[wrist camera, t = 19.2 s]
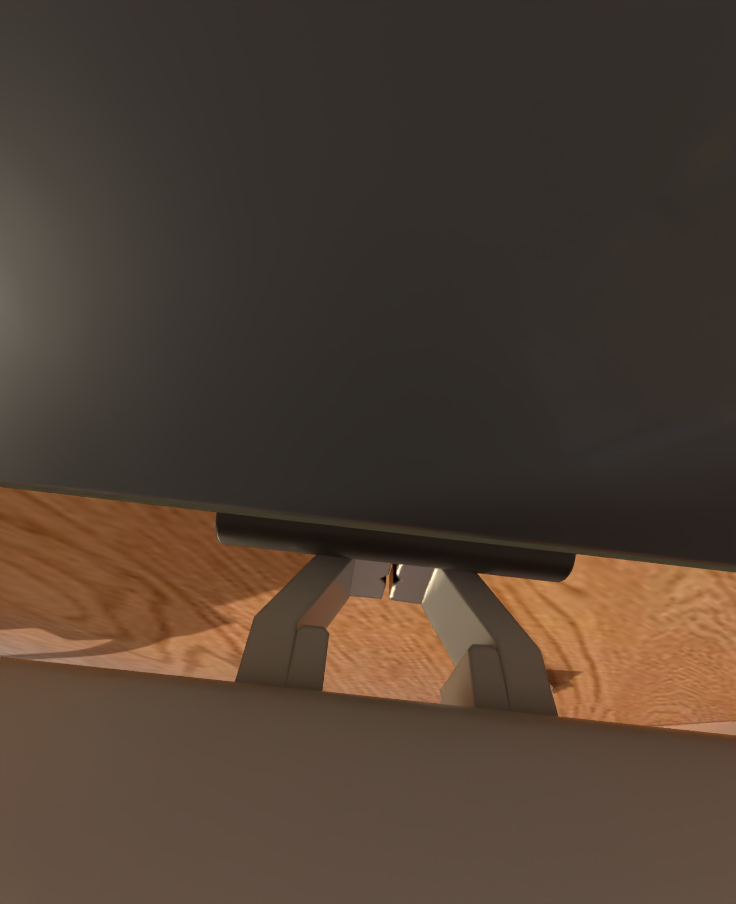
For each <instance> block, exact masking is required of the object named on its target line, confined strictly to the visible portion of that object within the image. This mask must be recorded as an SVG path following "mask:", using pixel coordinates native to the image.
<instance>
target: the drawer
mask: <svg viewBox="0 0 736 904" xmlns="http://www.w3.org/2000/svg"><path fill="white" fill-rule="evenodd" d="M0 487H6V488H14V489H23V490H31V491H40V492H49V493H57V494H66V495H74V496H83V497H92V498H100V499H109V500H117V501H126V502H135V503H143V504H152V505H160V506H169V507H178V508H186V509H195V510H203V511H212V512H217V514H216V534H217V538H218V541H219V542H220V543H222V544H227V545H236V546H244V547H253V548H262V549H271V550H279V551H288V552H297V553H306V554H314V555H323V556H332V557H341V558H349V559H358V560H367V561H376V562H385V563H393V564H402V565H411V566H420V567H428V568H437V569H446V570H455V571H463V572H472V573H481V574H490V575H498V576H507V577H516V578H525V579H533V580H542V581H551V582H561V581H563V580H565V579H566V578H567V577H568V576H569V575H570V573H571V571H572V569H573V566H574V562H575V556H576V554H581V555H590V556H599V557H607V558H616V559H624V560H633V561H642V562H650V563H659V564H667V565H676V566H685V567H693V568H702V569H710V570H719V571H727V572H736V567H727V566H719V565H710V564H702V563H693V562H684V561H676V560H667V559H659V558H650V557H642V556H633V555H624V554H616V553H607V552H599V551H590V550H582V549H573V548H565V547H556V546H547V545H539V544H530V543H522V542H513V541H505V540H496V539H487V538H479V537H470V536H462V535H453V534H445V533H436V532H427V531H419V530H410V529H402V528H393V527H385V526H376V525H367V524H359V523H350V522H342V521H333V520H325V519H316V518H308V517H299V516H290V515H282V514H273V513H265V512H256V511H248V510H239V509H230V508H222V507H213V506H205V505H196V504H188V503H179V502H170V501H162V500H153V499H145V498H136V497H128V496H119V495H110V494H102V493H93V492H85V491H76V490H68V489H59V488H51V487H42V486H33V485H25V484H16V483H8V482H0Z"/></svg>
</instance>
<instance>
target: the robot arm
mask: <svg viewBox="0 0 736 904" xmlns="http://www.w3.org/2000/svg"><path fill="white" fill-rule="evenodd" d="M391 564H392V568H391V572H390V575H389V600H395V601H402V602H409V603H416V604H422V605H421V606H422V608H423V610H424V612H425V614H426V615H427V617H428V619H429V621H430V622H431V624H432V626H433V628H434V629H435V631H436V633H437V635H438V636H439V638H440V640H441V642H442V644H443V645H444V647H445V649H446V651H447V652H448V654H449V656H450V658H451V659H452V661H453V663H454V665H455V667H456V668H455V669H454V671H453V672H452V674H451V675H450V677H449V678H448V680H447V681H446V683H445V684H444V685H443V687H442V688H441V690H440V696H441V704H437V703H428V702H419V701H409V700H400V699H391V698H381V697H372V696H363V695H353V694H344V693H335V692H325V691H322V689H323V680H324V672H325V664H326V656H327V647H328V639H329V633H328V632H327V630H326V628H327V627H328V625H329V624H330V623H331V621H332V620H333V619H334V617H335V616H336V615H337V613H338V612H339V611H340V609H341V608H342V607H343V605H344V604H345V603H346V601H347V600H348V598H349V596H356V597H368V598H379V599H382V596H383V592H384V589H385V585H386V575H388V574H389V571H390V567H391ZM0 904H736V735H726V734H717V733H707V732H698V731H689V730H679V729H671V728H661V727H652V726H643V725H633V724H624V723H615V722H605V721H596V720H587V719H577V718H568V717H559V716H558V713H557V710H556V706H555V702H554V699H553V695H552V691H551V687H550V684H549V680H548V676H547V673H546V669H545V665H544V661H543V658H542V654H541V650H540V649H539V648H538V646H537V645H536V644H535V643H534V642H533V640H532V639H531V638H530V637H529V636H528V634H527V633H526V632H525V631H524V630H523V628H522V627H521V626H520V625H519V624H518V622H517V621H516V620H515V619H514V617H513V616H512V615H511V614H510V613H509V611H508V610H507V609H506V608H505V607H504V605H503V604H502V603H501V602H500V601H499V599H498V598H497V597H496V596H495V595H494V593H493V592H492V591H491V590H490V588H489V587H488V586H487V585H486V584H485V582H484V581H483V580H482V579H481V578H480V576H479V575H478V574H477V573H472V572H463V571H455V570H446V569H437V568H428V567H420V566H411V565H402V564H393V563H385V562H376V561H367V560H358V559H349V558H341V557H332V556H323V555H316V556H315V557H314V558H313V559H312V560H311V561H310V562H309V563H308V564H307V565H306V566H305V567H304V568H303V569H302V570H301V571H300V572H299V573H298V574H297V575H296V576H295V577H294V578H293V579H292V580H291V581H290V582H289V583H288V584H287V585H286V586H285V587H284V588H283V589H282V590H281V591H280V592H279V593H278V594H277V595H276V596H275V597H274V598H273V599H272V600H271V601H270V602H269V603H268V604H267V605H266V606H265V607H264V608H263V609H262V610H261V611H260V612H259V613H258V614H257V615H256V616H255V617H254V619H253V623H252V626H251V629H250V633H249V636H248V640H247V643H246V646H245V650H244V653H243V657H242V660H241V663H240V667H239V670H238V674H237V677H236V681H235V682H231V681H222V680H213V679H203V678H194V677H184V676H175V675H166V674H156V673H147V672H138V671H128V670H119V669H109V668H100V667H91V666H81V665H72V664H62V663H53V662H44V661H34V660H25V659H16V658H6V657H0Z"/></svg>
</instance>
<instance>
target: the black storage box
mask: <svg viewBox="0 0 736 904" xmlns="http://www.w3.org/2000/svg"><path fill="white" fill-rule="evenodd" d="M0 482H8V483H16V484H25V485H33V486H42V487H51V488H59V489H68V490H76V491H85V492H93V493H102V494H110V495H119V496H128V497H136V498H145V499H153V500H162V501H170V502H179V503H188V504H196V505H205V506H213V507H222V508H230V509H239V510H248V511H256V512H265V513H273V514H282V515H290V516H299V517H308V518H316V519H325V520H333V521H342V522H350V523H359V524H367V525H376V526H385V527H393V528H402V529H410V530H419V531H427V532H436V533H445V534H453V535H462V536H470V537H479V538H487V539H496V540H505V541H513V542H522V543H530V544H539V545H547V546H556V547H565V548H573V549H582V550H590V551H599V552H607V553H616V554H624V555H633V556H642V557H650V558H659V559H667V560H676V561H684V562H693V563H702V564H710V565H719V566H727V567H736V0H0Z"/></svg>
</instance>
